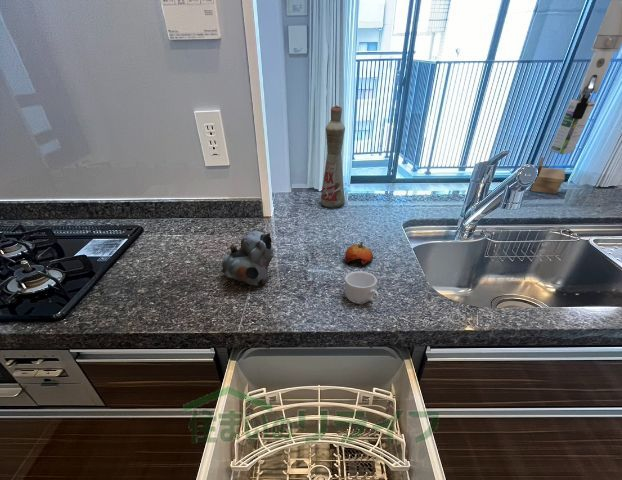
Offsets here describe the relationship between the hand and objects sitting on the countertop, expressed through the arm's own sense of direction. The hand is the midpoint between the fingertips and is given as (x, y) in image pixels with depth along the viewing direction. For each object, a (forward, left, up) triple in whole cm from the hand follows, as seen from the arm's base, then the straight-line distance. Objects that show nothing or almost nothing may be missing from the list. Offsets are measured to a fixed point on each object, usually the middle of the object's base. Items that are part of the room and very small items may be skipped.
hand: (576, 115), depth 126 cm
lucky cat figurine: (+70, +108, -22) cm, 130 cm away
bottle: (+70, +50, -22) cm, 88 cm away
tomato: (+46, +87, -22) cm, 101 cm away
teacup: (+38, +106, -22) cm, 115 cm away
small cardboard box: (+1, 0, -22) cm, 22 cm away
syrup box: (0, 0, -11) cm, 11 cm away
